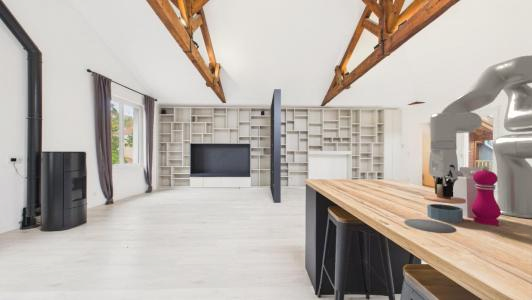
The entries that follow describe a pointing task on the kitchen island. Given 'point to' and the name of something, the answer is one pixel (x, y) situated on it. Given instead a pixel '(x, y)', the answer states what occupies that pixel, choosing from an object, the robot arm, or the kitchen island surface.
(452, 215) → the bowl
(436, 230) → the round mat
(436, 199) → the lid
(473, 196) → the milk carton
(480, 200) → the pepper mill
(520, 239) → the kitchen island surface
